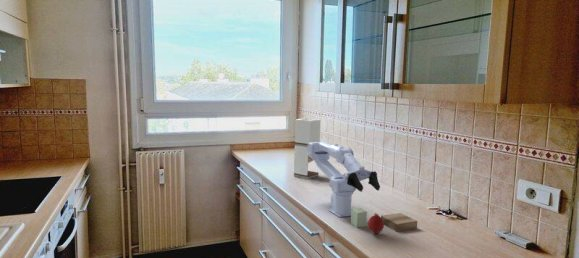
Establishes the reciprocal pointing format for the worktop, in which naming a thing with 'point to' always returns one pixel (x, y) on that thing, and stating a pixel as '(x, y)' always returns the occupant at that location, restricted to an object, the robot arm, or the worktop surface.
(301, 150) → the white coffee machine
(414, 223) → the walnut base
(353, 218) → the sage block
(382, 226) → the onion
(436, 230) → the worktop surface
